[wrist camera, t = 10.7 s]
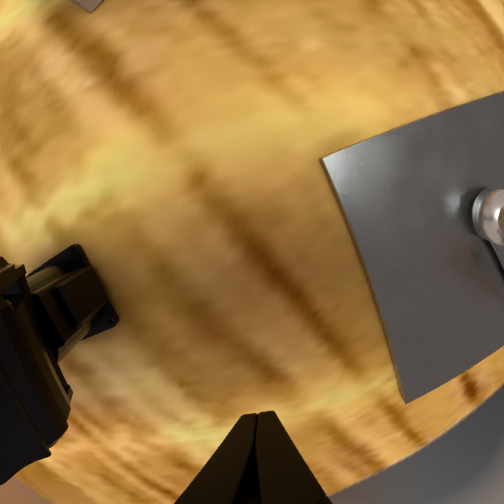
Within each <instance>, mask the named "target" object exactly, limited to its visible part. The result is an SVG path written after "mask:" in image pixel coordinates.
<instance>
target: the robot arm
mask: <svg viewBox="0 0 504 504" xmlns="http://www.w3.org/2000/svg"><path fill="white" fill-rule="evenodd" d="M74 249H75V250H76V254H75V253H74ZM25 274H26V270H25V266H24V264H21V265H16V266H15V264H11V265H10V263H9V264H8V263H7V261H6V260H5V259H4V258H3V257H2V256H1V257H0V485H2V484H4V483H5V482H7V481H8V480H9V479H10V478H11V477H12V476H14V475H15V474H16V473H17V472H18V471H20V470H21V469H22V468H24V467H25V466H27V465H29V464H31V463H33V462H35V461H37V460H41V459H44V458H47V457H49V456H51V452H50V450H49V448H51V447H52V446H53V445H54V444H55V443H56V442H57V441H58V440H59V439H60V438H61V437H62V436H63V435H64V433H65V432H66V431H67V429H68V423H67V422H66V421H67V419H68V416H69V413H70V410H71V407H70V402H71V398H72V394H73V391H72V389H71V387H70V385H68V384H67V382H66V380H65V378H64V376H63V374H62V372H61V369H60V367H59V365H58V363H59V362H60V361H61V360H62V359H63V358H64V357H65V356H66V355H67V354H68V352H69V351H70V350H71V349H72V348H73V347H74V346H75V345H76V344H77V343H78V342H79V341H81V340H83V339H86V338H88V337H90V336H93V335H95V334H98V333H100V332H102V331H105V330H107V329H110V328H112V327H114V326H116V325H117V324H118V322H119V317H118V315H117V314H116V312H115V310H114V308H113V307H112V305H111V303H110V302H109V300H108V297H107V295H106V293H105V292H104V290H103V288H102V286H101V284H100V282H99V281H98V279H97V277H96V275H95V273H94V271H93V269H92V268H91V267H90V265H89V263H88V261H87V259H86V257H85V255H84V253H83V251H82V249H81V247H80V246H79V245H78V244H74V245H72V246H70V247H68V248H67V249H65V250H64V251H62V252H61V253H59V254H58V255H56V256H55V257H53V258H52V259H50V260H49V261H47V262H46V263H44V264H43V265H41V266H40V267H39V268H37V269H36V270H34V271H33V272H31V273H30V274H29V275H28V276H27V278H26V276H25ZM110 317H111V318H113V320H114V321H112V320H111V319H110ZM174 504H332V502H331V501H330V499H329V498H328V497H327V496H326V493H325V492H324V490H323V489H322V487H321V486H320V484H319V483H318V481H317V480H316V478H315V476H314V475H313V473H312V472H311V470H310V469H309V467H308V465H307V464H306V462H305V461H304V459H303V458H302V456H301V454H300V453H299V451H298V449H297V448H296V446H295V445H294V443H293V441H292V440H291V438H290V436H289V435H288V433H287V432H286V430H285V428H284V427H283V425H282V423H281V422H280V420H279V418H278V416H277V415H276V413H275V412H274V411H266V412H260V413H259V414H257V413H252V414H244V415H242V416H241V417H240V418H239V420H238V421H237V423H236V424H235V425H234V427H233V428H232V429H231V431H230V432H229V434H228V435H227V436H226V438H225V439H224V440H223V442H222V443H221V444H220V446H219V447H218V448H217V450H216V451H215V452H214V454H213V455H212V456H211V458H210V459H209V460H208V462H207V463H206V464H205V466H204V467H203V468H202V469H201V471H200V472H199V473H198V475H197V476H196V477H195V478H194V480H193V481H192V482H191V483H190V485H189V486H188V487H187V488H186V490H185V491H184V492H183V493H182V494H181V496H180V497H179V498H178V499H177V500H176V502H175V503H174Z"/></svg>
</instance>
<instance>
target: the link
mask: <svg viewBox="0 0 504 504" xmlns="http://www.w3.org/2000/svg"><path fill="white" fill-rule="evenodd" d="M503 209H504V190H503V189H497V188H486V189H484V190H483V191H481V192H480V193H479V195H478V196H477V198H476V200H475V202H474V206H473V211H472V220H473V225H474V228H475V231H476V232H477V234H478V235H479V236H480V237H481V238H483V239H485V240H488V241H490V243H491V245H492V247H493V249H494V250H495V252H496V254H497V256H498V258H499V260H500V262H501V264H502V266H503V269H504V231H503V230H502V228H501V224H500V217H501V213H502V210H503Z"/></svg>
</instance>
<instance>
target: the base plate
mask: <svg viewBox="0 0 504 504" xmlns="http://www.w3.org/2000/svg"><path fill="white" fill-rule="evenodd" d="M320 161H321V164H322V166H323V168H324V170H325V173H326V175H327V177H328V180H329V182H330V184H331V187H332V189H333V191H334V194H335V196H336V198H337V201H338V203H339V206H340V208H341V211H342V213H343V216H344V218H345V221H346V223H347V226H348V228H349V231H350V233H351V236H352V239H353V241H354V244H355V247H356V249H357V252H358V255H359V257H360V260H361V263H362V266H363V269H364V271H365V274H366V277H367V280H368V283H369V286H370V289H371V292H372V295H373V298H374V301H375V304H376V307H377V310H378V313H379V317H380V320H381V323H382V326H383V330H384V333H385V336H386V340H387V343H388V347H389V350H390V354H391V357H392V361H393V365H394V368H395V372H396V376H397V380H398V384H399V388H400V392H401V396H402V398H403V400H404V402H405V404H407V403H409V402H411V401H413V400H415V399H417V398H419V397H421V396H423V395H425V394H426V393H428V392H430V391H432V390H434V389H436V388H437V387H439V386H441V385H443V384H445V383H446V382H448V381H450V380H451V379H453V378H455V377H457V376H458V375H460V374H461V373H463V372H465V371H466V370H468V369H470V368H471V367H473V366H474V365H476V364H477V363H479V362H480V361H482V360H483V359H485V358H486V357H488V356H489V355H491V354H492V353H494V352H495V351H497V350H498V349H499V348H501V347H502V346H504V269H503V266H502V264H501V262H500V260H499V258H498V256H497V254H496V252H495V250H494V249H493V247H492V245H491V243H490V241H488V240H485V239H483V238H481V237H480V236H479V235H478V234H477V232H476V231H475V228H474V225H473V221H472V207H473V203H474V201H475V199H476V198H477V196H478V195H479V193H480V192H481V191H483V190H484V189H486V188H497V189H503V190H504V91H503V92H500V93H496V94H493V95H490V96H487V97H484V98H481V99H477V100H474V101H471V102H468V103H465V104H462V105H459V106H456V107H453V108H450V109H447V110H445V111H442V112H439V113H436V114H433V115H430V116H428V117H425V118H422V119H419V120H416V121H414V122H411V123H408V124H406V125H403V126H400V127H398V128H395V129H392V130H390V131H387V132H385V133H382V134H379V135H377V136H374V137H372V138H369V139H367V140H364V141H362V142H359V143H357V144H354V145H352V146H349V147H347V148H344V149H342V150H340V151H337V152H335V153H332V154H330V155H327V156H325V157H323V158H320Z"/></svg>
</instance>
